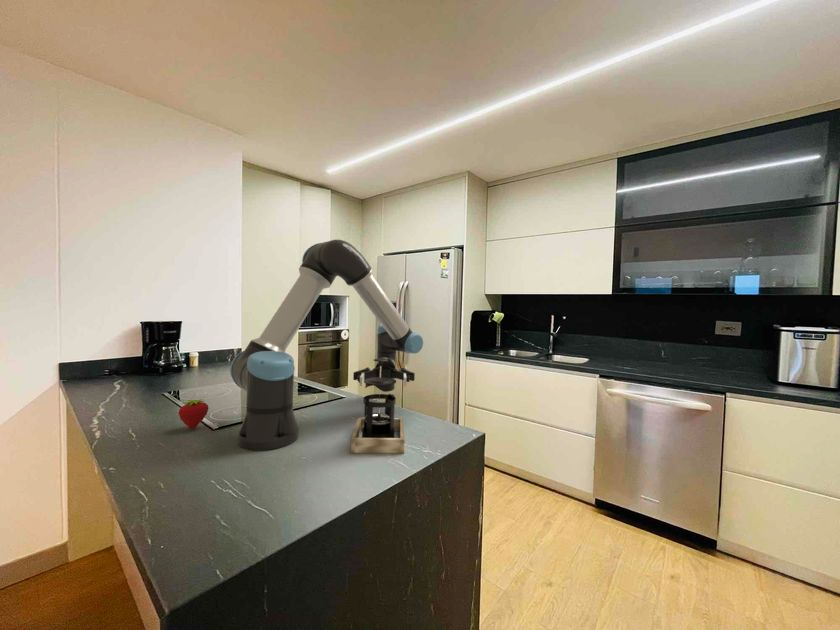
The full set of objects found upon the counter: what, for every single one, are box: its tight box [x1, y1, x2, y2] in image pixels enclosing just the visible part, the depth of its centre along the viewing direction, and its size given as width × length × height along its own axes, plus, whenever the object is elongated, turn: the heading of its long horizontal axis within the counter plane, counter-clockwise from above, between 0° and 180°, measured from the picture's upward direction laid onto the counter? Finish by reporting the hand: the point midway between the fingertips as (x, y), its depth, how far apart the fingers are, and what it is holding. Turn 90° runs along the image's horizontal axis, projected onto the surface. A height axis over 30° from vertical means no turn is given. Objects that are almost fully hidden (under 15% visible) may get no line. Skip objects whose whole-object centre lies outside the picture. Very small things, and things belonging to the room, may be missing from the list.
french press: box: [361, 357, 397, 438], centre depth 94 cm, size 12×9×23 cm
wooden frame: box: [350, 417, 405, 454], centre depth 94 cm, size 14×17×4 cm
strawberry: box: [178, 395, 210, 430], centre depth 97 cm, size 6×8×10 cm
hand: (383, 381), depth 104 cm, fingers open, 13 cm apart
